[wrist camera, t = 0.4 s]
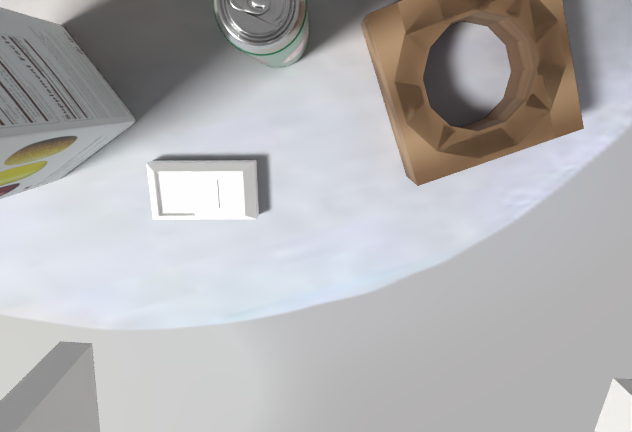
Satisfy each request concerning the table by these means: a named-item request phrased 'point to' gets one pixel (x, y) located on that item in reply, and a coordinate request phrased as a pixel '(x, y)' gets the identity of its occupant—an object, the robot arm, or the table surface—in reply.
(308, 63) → the table surface
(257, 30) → the soda can
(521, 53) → the square wooden ring holder
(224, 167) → the soap bar
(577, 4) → the table surface
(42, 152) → the supplement box
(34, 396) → the robot arm
